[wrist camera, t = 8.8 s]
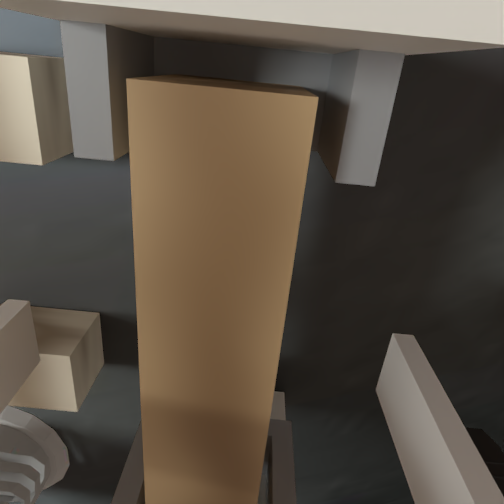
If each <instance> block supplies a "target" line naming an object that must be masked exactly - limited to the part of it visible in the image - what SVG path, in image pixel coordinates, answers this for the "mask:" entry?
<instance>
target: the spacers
mask: <svg viewBox="0 0 504 504" xmlns="http://www.w3.org/2000/svg"><path fill="white" fill-rule="evenodd" d="M72 152H74V150H73V141H72V131H71V122H70V112H69V103H68V93H67V84H66V74H65V65H64V58H61V57H51V56H40V55H30V54H20V53H10V52H0V161H2V162H13V163H23V164H33V165H45V164H47V163H49V162H52V161H54V160H56V159H58V158H61V157H63V156H65V155H67V154H70V153H72ZM2 304H3V303H2ZM2 304H0V306H1V305H2ZM30 307H31V312H32V318H33V323H34V328H35V334H36V339H37V345H38V350H39V356H40V362H39V364H38V365H37V366H36V368H35V369H34V370H33V371H32V373H31V374H30V375H29V377H28V378H27V379H26V381H25V382H24V383H23V385H22V386H21V387H20V389H19V390H18V391H17V393H16V394H15V395H14V397H13V398H12V399H11V401H10V402H9V403H8V405H9V406H19V407H30V408H40V409H51V410H62V411H72V412H78V410H79V408H80V407H81V405H82V403H83V401H84V399H85V397H86V396H87V394H88V392H89V390H90V388H91V387H92V385H93V383H94V381H95V379H96V378H97V376H98V374H99V372H100V370H101V368H102V367H103V365H104V356H103V345H102V334H101V324H100V313H97V312H87V311H76V310H66V309H55V308H45V307H34V306H30Z"/></svg>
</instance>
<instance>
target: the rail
mask: <svg viewBox="0 0 504 504" xmlns="http://www.w3.org/2000/svg"><path fill="white" fill-rule="evenodd" d="M126 85H127V108H128V130H129V152H130V174H131V197H132V219H133V241H134V263H135V286H136V308H137V330H138V353H139V375H140V397H141V419H142V442H143V464H144V486H145V504H257V501H258V495H259V488H260V482H261V475H262V468H263V462H264V455H265V449H266V442H267V435H268V429H269V422H270V415H271V409H272V402H273V396H274V389H275V382H276V376H277V369H278V363H279V356H280V349H281V343H282V336H283V330H284V323H285V316H286V310H287V303H288V297H289V290H290V283H291V277H292V270H293V264H294V257H295V250H296V244H297V237H298V230H299V224H300V217H301V211H302V204H303V197H304V191H305V184H306V178H307V171H308V164H309V158H310V151H311V145H312V138H313V131H314V125H315V118H316V112H317V105H318V98H319V97H317V96H316V95H314V94H312V93H311V92H309V91H308V90H306V89H304V88H303V87H301V86H293V85H283V84H273V83H263V82H253V81H243V80H232V79H222V78H212V77H202V76H192V75H182V74H172V75H160V76H148V77H137V78H126Z"/></svg>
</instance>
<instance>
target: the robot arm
mask: <svg viewBox="0 0 504 504" xmlns="http://www.w3.org/2000/svg"><path fill="white" fill-rule="evenodd" d="M39 362H40V356H39V350H38V345H37V339H36V334H35V328H34V323H33V318H32V312H31V307H30V301H25V300H14V299H7V300H6V301H5V302H4V303H3V304H2V305H1V306H0V414H1V413H2V411H3V410H4V409H5V407H6V406H7V405H8V403H9V402H10V401H11V399H12V398H13V397H14V395H15V394H16V393H17V391H18V390H19V389H20V387H21V386H22V385H23V383H24V382H25V381H26V379H27V378H28V377H29V375H30V374H31V373H32V371H33V370H34V369H35V368H36V366H37V365H38V364H39ZM376 393H377V396H378V399H379V401H380V404H381V407H382V410H383V413H384V416H385V419H386V422H387V425H388V427H389V430H390V433H391V436H392V439H393V442H394V445H395V448H396V451H397V453H398V456H399V459H400V462H401V465H402V468H403V471H404V474H405V477H406V479H407V482H408V485H409V488H410V491H411V494H412V497H413V500H414V502H415V504H504V454H503V452H502V451H501V449H500V447H499V446H498V445H497V444H496V443H495V442H494V441H493V440H492V439H491V438H490V437H489V436H488V435H487V434H486V433H485V432H484V431H483V430H482V429H474V428H465V427H464V425H463V423H462V421H461V419H460V418H459V416H458V414H457V412H456V411H455V409H454V407H453V405H452V403H451V402H450V400H449V398H448V396H447V394H446V393H445V391H444V389H443V387H442V385H441V384H440V382H439V380H438V378H437V376H436V375H435V373H434V371H433V369H432V367H431V366H430V364H429V362H428V360H427V359H426V357H425V355H424V353H423V351H422V350H421V348H420V346H419V344H418V342H417V341H416V339H415V337H414V335H407V334H396V333H392V337H391V340H390V343H389V347H388V350H387V353H386V357H385V360H384V363H383V367H382V370H381V373H380V377H379V380H378V383H377V387H376Z"/></svg>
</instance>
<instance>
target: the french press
mask: <svg viewBox="0 0 504 504" xmlns="http://www.w3.org/2000/svg"><path fill="white" fill-rule="evenodd" d="M69 465H70V463H69V457H68V450H67V447H66V445H65V444H64V443H63V441H62V440H61V438H60V437H59V436H58V434H57V433H56V431H55V430H54V429H52V428H51V427H49V426H48V425H47V424H45V423H44V422H43V421H41V420H40V419H38V418H37V417H36V416H34V415H32V414H30V413H27V412H24V411H22V410H19V409H16V408H14V407H11V406H8V405H7V406H6V407H5V409H4V410H3V411H2V413H1V414H0V504H10V503H8V502H10V501H14V502H22V503H21V504H35V502H36V500H37V498H38V497H39V495H40V493H41V491H42V490H44V489H46V488H49V487H50V486H52V485H53V484H55V483H57V482H58V481H60V480H62V479H63V477H64V475H65V473H66V471H67V469H68V467H69Z"/></svg>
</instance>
